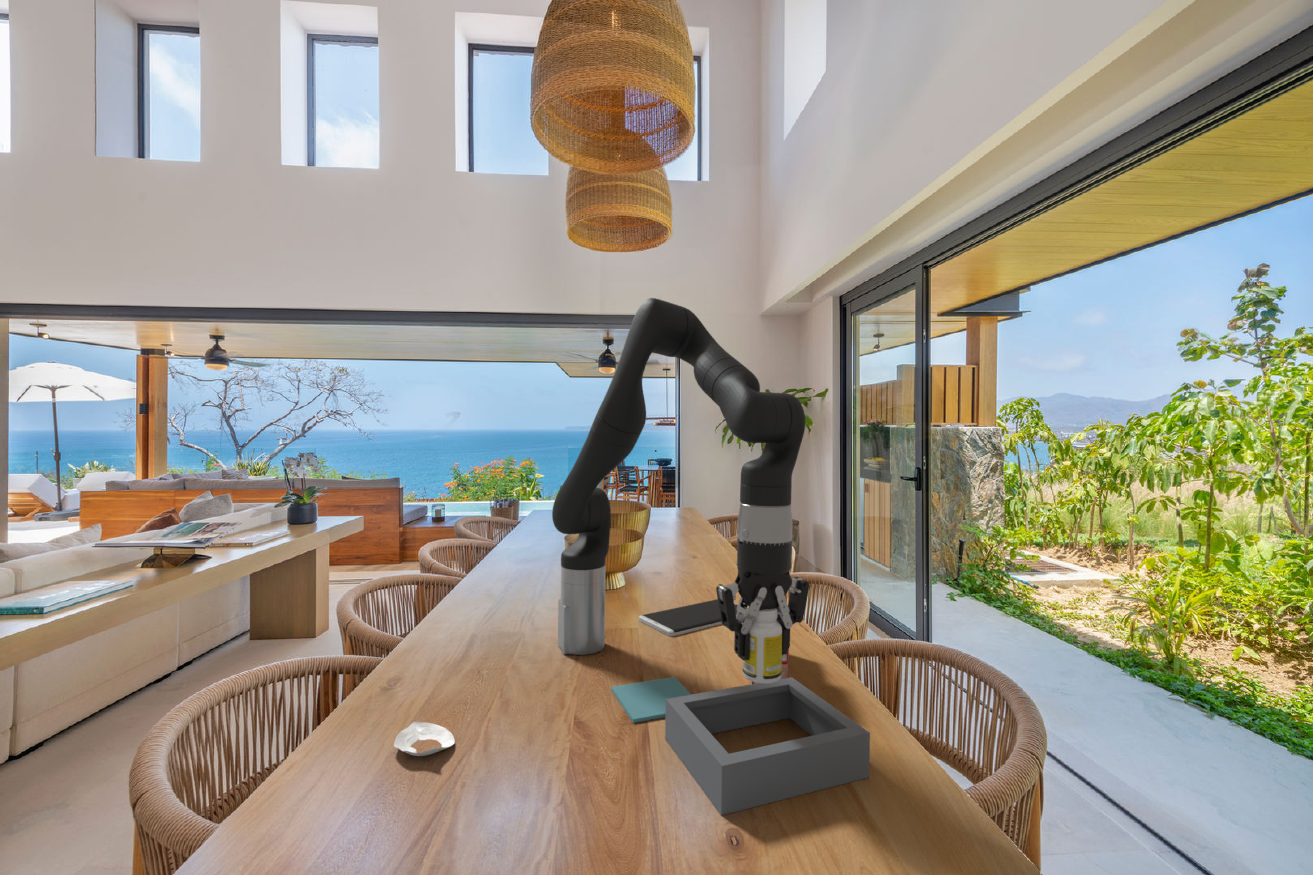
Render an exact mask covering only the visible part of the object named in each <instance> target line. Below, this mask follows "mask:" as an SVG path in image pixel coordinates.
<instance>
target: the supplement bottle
mask: <svg viewBox="0 0 1313 875" xmlns="http://www.w3.org/2000/svg"><path fill="white" fill-rule="evenodd" d="M749 608H750V607H749ZM777 616H778V613H777V608H775V609H769V608H766V609H763V610H759V611H758V614H757V617H756V618H755V619H754V620H753V621H752V624H751V626H750V629H749V632H748V633H749V634H750V654H749V660H745V661H743V660H742V675H743V677H744V678H745V679H747V680H748V681H750V682H751V681H752V682H756V683H764V684H768V683H774V682H777V681H778V680H780V678H781V669H782V627H781V625H780V624H779V623H778V622H777V621H776V619H777Z"/></svg>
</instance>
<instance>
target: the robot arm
mask: <svg viewBox="0 0 1313 875" xmlns="http://www.w3.org/2000/svg"><path fill="white" fill-rule="evenodd" d="M628 330H629V331H628V333H627V337H626V339H625V343H624V345H623V348H622V351H621V354H620V358H619V360H618V364H617V366H616V368H615V372H614V373H613V376H612V378H611V381H610V384H609V386H608V389H607V391H606V393H605V395H604V398H603V400H602V401H601V404H600V406H599V408H598V410H597V412H596V414H595V417H594V419H593V421H592V423H591V427H590V428H589V429H590V430H589V431H588V434H587V437H586V438H585V441H584V443H583V445H582V447H581V449H580V452H579V454H578V456H577V459H576V460H575V463H574V464H573V466H572V468H571V470H570V472H569V474H568V475H567V477H566V479H565V481H564V482H563V484H562V485H561V488H560V489H559V491H558V493H557V494H556V496H555V499H554V501H553V505H552V511H551V512H552V514H551V515H552V516H551V518H552V519H551V520H552V523H553V526H554V527H555V529H556V531H558V532H559V533H561V534H563V535H578V536H577V538H576V539H575V541H574V542H573V543H572V544H571V545H569V546H568V547H567V548H565V549H564V550H562V552H561V554H560V598H559V599H558V601H557V602H558V605H557V606H558V610H557V613H558V614H557V624H558V625H557V626H558V627H557V645H558V647H559V648H560V651H562V654H563V655H580V656H583V655H591V654H596V653H598V652H599V653H600V652H601V651H603V649H604V648H605V646H606V644H605V643H606V642H605V641H606V634H605V633H606V560H607V555H608V552H609V549H610V538H611V537H610V536H611V535H610V534H611V522H612V521H611V520H612V519H611V518H612V517H611V515H612V510H611V502H610V499H609V497H608V494H607V493H606V492H605V491H604V490H603V489H602V488H599V487H598V486H599V485H600V483H601V482H602V481H603V480H604V479H605V478H606V477H607V476H608V475H609V474H610V473H611V472H612V471H613V470H615V469H616V468H617V467H618V466H619V465H620V464H621V463H623V461H625V459H627V457H629V455H630V454H631V453H632V451H633V450H634V448H635V447H636V444H637V442H638V440H639V438H640V436H641V434H642V432H643V430H644V428H645V425H646V421H647V408H646V400H645V394H644V389H643V388H644V387H643V376H644V373H645V370H646V366H647V363H648V361H649V359H650V356H651V355H652V354H658V355H660V356H665V357H669V358H675V359H676V358H678V359H679V360H681V361H684V362H686V363H687V364H689V365H691V366H692V367H693V375H694V378H695V382H696V383H697V385H698V387H699V388H700V389H701V390H702V392H703V393H705V395H706V396H707V397H709V398H710V400H711V401H713V402H714V404H716V405H717V406H718V407H719V410H720V411H721V414H722V416H723V418H724V420H725V423H726V425H727V426H728V427H727V428H728V429H729V430H730V432H731V434H733V435H734V436H735V437H736V438H738V439H739V440H741V441H743V442H746V443H749V444H764V448H763V449H762V453H761V455H760V456H759V457H758V458H755V459H751V460H749V461H747V462H745V463H744V464H743V465H742V466H741V468H740V469H741V470H740V488H739V491H740V493H739V510H738V516H737V537H736V538H737V543H736V545H737V546H736V568H737V576H736V577H735V580H734V582H733V583H730V584H725V585H724V584H722V583H720V584H718V585H716V587H715V589H716V590H715V592H716V597H717V599H718V604H719V610H720V617H721V623H722V624H721V625H722V626H724V627H726V628H727V629H728V630H729V631H731V632H733V633H734V647H733V648H734V653H735V654H736V655H737V657H738V658H740V659H741V660H742V662H743V661H745V660H749V654H750V634H749V633H748V632H749V629H750V626H751V624H752V621H753V620H754V619H755V618H756V617H757V614H758V611H759V610H763V609H766V608H769V609H775V608H777V613H778V616H777V619H776V621H777V622H778V623H779V624H780V625H781V627H782V655H784V654H787V650H789V651H790V646H791V629H792V627H793V625H794V624H796V623H799V624H800V623H802V622H803V620H804V616H805V612H806V606H807V600H808V596H809V590H810V582H809V581H807V580H805V579H803V578H801V577H798V576H794V577H791V574H790V571H791V569H792V568H793V566H792V564H793V562H792V561H793V556H792V555H793V523H794V522H793V513H792V512H793V511H792V483H793V482H792V477H793V472H794V470H795V466H796V463H797V460H798V457H799V456H798V455H799V452H800V450H801V449H800V448H801V446H802V445H801V444H802V443H803V442H802V441H803V438H804V434H805V431H806V430H805V429H806V414H805V410H804V407H803V404H802V403H801V401H800V400H799V399H798V398H797V397H796V396H795V395H793V394H790V393H786V392H767V391H761V385H760V382H759V380H758V377H757V376H756V375H755V374H754V373H753V372H752V371H751V370H749V368H747V367H746V366H745V365H744V364H742V362H740V361H739V360H738V359H737V358H735V357H734V356H732V355H731V354H729V352H728V351H726V350H725V349H724V348H723V347H722V346H721V345H720V343H718V342H717V341H716V339H715V338H714V337H713V336H712V334H710V332H709V331H708V330H707V327H705V325H704V324H703V322H702V321H701V320H700V319H699V317H698V316H697V315H696V314H695V313H694V312H693V311H691V310H690V309H689V308H687V307H684V306H682V305H678V304H675V303H672V302H669V301H666V300H662V299H661V298H660V299H659V298H656V297H650V298H647V299H645V301H642V303H641V305H640V306H639V307H638V309H637V311H636V312H635V315H634V317H633V319H632V322H631V324H630V328H629V329H628ZM789 592H790V593H789ZM737 593H738V594H739V596H740V598H739V601H738V603H737V604H738V606H737V614H736V613H735V607H734V603H735V602H734V601H736V599H737V596H736V595H737ZM787 593H789V599H788V602H787V599H786V595H787ZM748 606H749V607H750V608H749V609H747V608H748Z"/></svg>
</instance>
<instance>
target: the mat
mask: <svg viewBox="0 0 1313 875" xmlns="http://www.w3.org/2000/svg"><path fill="white" fill-rule="evenodd" d="M610 688H611V690H610V691H611V692H612V693H613V695H614V696H615V699H616V700H617V701H618V702H619V705H621V707H622V708H623V710H624V712H625V713H626V715H627V716H628V717H629V719H630V720H631V722H632V723H633V724H635V723H640V722H646V721H651V719H653V720H657V719H658V720H659V719H662V718H663V717H664V718H666V699H669V698H675V697H680V696H686V695H692V693H690V692H689V691H688V689H687V688H686V687H685V686H684V685H683V684H682V683H681V682H680V680H678V679H677V678H676V677H675V676H671V677H664V678H657V679H652V680H645V681H638V682H633V683H626V684H619V685H613V686H611V687H610Z"/></svg>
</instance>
